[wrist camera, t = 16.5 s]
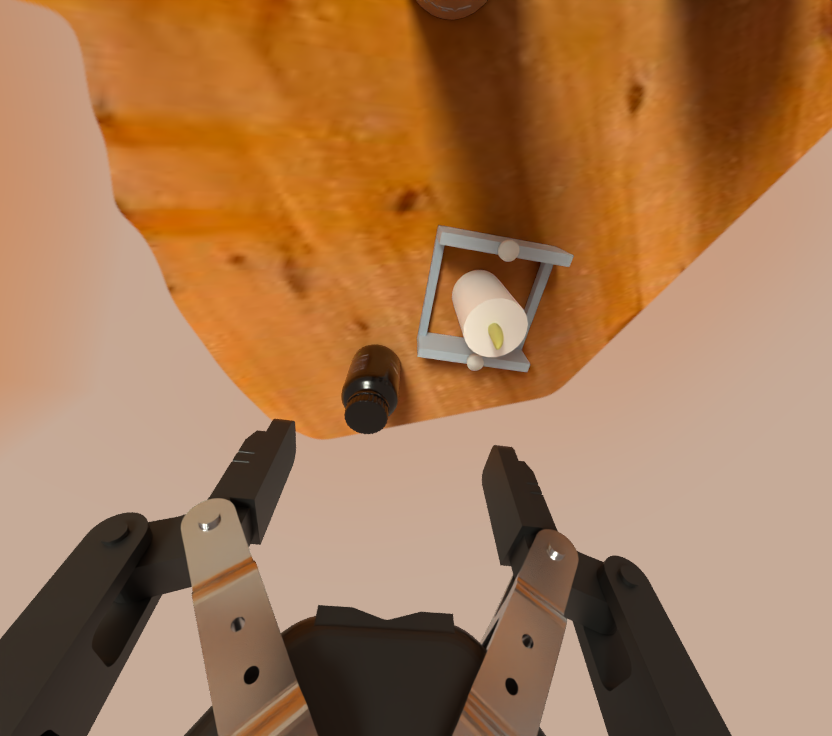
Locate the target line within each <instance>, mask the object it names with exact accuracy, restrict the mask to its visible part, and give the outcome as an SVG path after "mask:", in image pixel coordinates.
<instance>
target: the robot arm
mask: <svg viewBox="0 0 832 736" xmlns="http://www.w3.org/2000/svg"><path fill="white" fill-rule="evenodd" d="M416 1H417V2H418V4H419V5H420V6H421V7H422V8H423V9H425V10H426V11H427V12H429V13H430V14H431V15H434V16H436V17H439V18H441V19H450V20H455V19H460V18H464V17H466V16H468V15H470V14H472V13H474V12H476V11H477V10H478V9H479V8H480V7H481V6H483V5H484V4H485V3H486V2H487V0H416ZM295 436H296V433H295V422H294V421H290V420H282V419H273V421H272V422H271V424H270V426H269V428H268V429H267V431H266V432H265V431H256V432H255V433H253V434H252V435H251V436H249V437H248V438H247V439H245V441H244V443H243V444H242V446H241V448H240V449H239V452H238V453H237V454H236V456H235V457H234V459H233V462H231V464H230V465H229V467H228V468H227V470H226V472H225V473H224V475H223V476H222V478H221V480H220V481H219V483H218V484H217V486H216V488H215V489H214V491H213V493H212V494H211V496H210V497H209V498H208V500H206V501H203V502H201V503H199V504H198V505H196V506H194V507H193V508H192V509H191V510H190V511H189V512H188V513H187V514H185V515H182V516H179V517H175V518H169V519H163V520H158V521H153V522H148V521H147V519H146V518H145V517H144V516H143V515H141V514H139V513H133V512H132V513H122V514H118V515H116V516H113V517H110V518H108V519H106V520H104V521H102V522H101V523H99V524H98V525H96V526H95V527H94V528H93V529H92V530H90V532H89V533H88V534H87V535H86V536H85V537H84V538H83V540H82V541H81V542H80V543H79V545H78V546H77V547H76V548H75V549H74V551H73V552H72V553H71V554H70V555H69V557H68V558H67V559H66V560H65V561H64V563H63V564H62V565H61V566H60V567H59V569H58V570H57V571H56V572H55V573H54V575H53V576H52V577H51V579H50V580H49V581H48V582H47V583H46V584H45V586H44V587H43V588H42V589H41V591H40V592H39V593H38V594H37V595H36V597H35V598H34V599H33V600H32V601H31V603H30V604H29V605H28V606H27V607H26V609H25V610H24V611H23V612H22V613H21V615H20V616H19V617H18V618H17V620H16V621H15V622H14V623H13V624H12V626H11V627H10V628H9V629H8V630H7V632H6V633H5V634H4V635H3V636H2V638H1V639H0V736H87V735H88V733H89V731H90V729H91V727H92V725H93V724H94V722H95V720H96V718H97V716H98V714H99V712H100V710H101V709H102V706H103V705H104V703H105V701H106V699H107V697H108V695H109V693H110V692H111V690H112V688H113V686H114V684H115V682H116V680H117V678H118V677H119V675H120V673H121V671H122V669H123V667H124V665H125V663H126V662H127V660H128V658H129V656H130V654H131V652H132V650H133V648H134V646H135V645H136V643H137V641H138V639H139V637H140V635H141V633H142V631H143V629H144V627H145V626H146V624H147V622H148V620H149V618H150V616H151V615H152V612H153V611H154V609H155V607H156V605H157V603H158V601H159V599H160V598H161V596H162V594H165V593H169V592H173V591H177V590H181V589H184V588H189V587H192V591H193V592H192V599H193V606H194V611H195V616H196V621H197V626H198V632H199V637H200V642H201V648H202V653H203V658H204V664H205V669H206V674H207V679H208V685H209V690H210V695H211V701H212V706H211V707H210V708H209V709H208V711H206V713H205V714H204V715H203V716H202V717H201V718H200V719H199V720H198V721H197V722H196V723H195V724H194V725H193V726H192V728H191V729H190V730H189V731H188V732H187V733H186V734H185V735H184V736H546V735H545V734H544V732H543V731H542V729H541V728H540V727H539V726H540V722H541V718H542V715H543V711H544V707H545V704H546V700H547V696H548V693H549V689H550V685H551V681H552V677H553V674H554V670H555V666H556V662H557V659H558V655H559V651H560V647H561V644H562V640H563V636H564V633H565V629H566V624H567V619H570V620H572V621H573V624H574V627H575V630H576V633H577V636H578V639H579V643H580V646H581V649H582V652H583V655H584V659H585V662H586V665H587V668H588V672H589V675H590V678H591V681H592V684H593V687H594V690H595V694H596V697H597V700H598V703H599V707H600V710H601V713H602V716H603V719H604V722H605V726H606V729H607V732H608V735H609V736H731V734H730V732H729V730H728V728H727V727H726V724H725V722H724V721H723V719H722V717H721V716H720V713H719V711H718V709H717V708H716V706H715V704H714V702H713V700H712V698H711V696H710V695H709V693H708V691H707V689H706V687H705V685H704V683H703V681H702V680H701V678H700V676H699V674H698V672H697V670H696V668H695V666H694V664H693V663H692V661H691V659H690V657H689V655H688V654H687V652H686V650H685V648H684V646H683V644H682V642H681V640H680V638H679V636H678V635H677V633H676V631H675V629H674V627H673V625H672V623H671V621H670V620H669V618H668V616H667V614H666V612H665V610H664V609H663V607H662V605H661V603H660V601H659V599H658V597H657V595H656V593H655V592H654V590H653V588H652V586H651V584H650V582H649V580H648V579H647V577H646V576H645V574H644V573H643V572H642V571H641V570H640V569H639V568H638V567H637V566H636V565H635V564H634V563H632V562H631V561H629V560H627V559H625V558H623V557H620V556H610V557H608V558H607V559H606V560H605V561H604V562H602V561H599V560H597V559H594V558H592V557H589V556H587V555H584V554H582V553H580V552H578V551H576V549H575V547H574V545H573V544H572V543H571V541H570V540H569V539H568V538H567V537H565V536H564V535H563V534H561V533H559V532H558V531H557V529H556V526H555V524H554V521H553V519H552V516H551V514H550V512H549V509H548V507H547V504H546V502H545V499H544V497H543V495H542V492H541V490H540V487H539V486H538V482H537V480H536V478H535V475H534V473H533V471H532V470H531V469H530V468H529V467H528V465H527V464H526V463H525V462H524V461H518V458H517V456H516V453H515V450H514V449H513V448H512V447H506V446H497V445H494V446H493V447H492V449H491V452H490V454H489V457H488V460H487V462H486V465H485V467H484V470H483V474H482V486H483V490H484V495H485V499H486V503H487V508H488V512H489V516H490V521H491V525H492V529H493V534H494V538H495V543H496V547H497V551H498V556H499V560H500V565H504V566H511V567H512V571H513V576H512V577H511V579H510V581H509V584H508V586H507V588H506V590H505V592H504V594H503V597H502V599H501V601H500V603H499V605H498V608H497V610H496V612H495V614H494V616H493V618H492V620H491V622H490V625H489V626H488V628H487V630H486V632H485V634H484V636H483V638H482V640H481V642H480V643H479V642H478V641H477V640H476V639H475V638H474V637H473V636H472V635H470V634H469V633H468V632H466V631H465V630H463V629H461V628H459V627H457V626H454V621H453V614H445V613H430V612H418V613H414V614H411V615H406V616H403V617H399V618H394V619H390V620H384V619H381V618H379V617H376V616H373V615H371V614H368V613H365V612H363V611H360V610H358V609H355V608H352V607H338V606H323V605H318V610H317V614H316V616H314V617H310V618H307V619H304V620H302V621H300V622H298V623H296V624H294V625H292V626H291V627H289V628H288V629H286V630H285V631H283V632H282V633H280V630H279V627H278V625H277V622H276V619H275V616H274V613H273V610H272V607H271V604H270V601H269V599H268V596H267V593H266V590H265V587H264V584H263V581H262V578H261V576H260V573H259V570H258V567H257V564H256V562H255V561H253V559H252V556H251V553H250V550H249V546H250V544H259V545H260V544H261V542H262V540H263V537H264V535H265V532H266V530H267V527H268V525H269V522H270V520H271V517H272V515H273V512H274V510H275V508H276V505H277V503H278V500H279V498H280V495H281V493H282V490H283V488H284V485H285V483H286V481H287V478H288V476H289V473H290V471H291V468H292V466H293V463H294V459H295V453H296V437H295Z"/></svg>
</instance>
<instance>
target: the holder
mask: <svg viewBox="0 0 832 736" xmlns="http://www.w3.org/2000/svg"><path fill="white" fill-rule="evenodd" d="M445 245H447V246H452V247H458V248H464V249H469V250H475V251H481V252H486V253H492V254H498V255H499V257H500V258H501V259H502V260H504V261H506V262H510V261H513V260H514V259H516V258H520V259H526V260H532V261H538V262H541V264H540V267H539V270H538V273H537V276H536V278H535V281H534V284H533V287H532V290H531V293H530V295H529V298H528V301H527V304H526V307H525V309H524V312H525V314H526V316H527V321H528V327H527V332H526V335H525V337H524V339H523V341H522V342H521V343H520V344H519V346H518V347H516V348H515V349H514V350H513V351H511V352H509V353H507V354H505V355H502V356H498V357H485V356H481V355H479V354H477V353H475V352H473V351H472V350H471V349H470V348H469V347H468V345H467V343H466V342H465V339H464V338H463V337H456V336H449V335H443V334H436V333H429V332H427V330H428V325H429V320H430V315H431V310H432V305H433V300H434V295H435V290H436V285H437V280H438V275H439V270H440V265H441V260H442V255H443V250H444V246H445ZM573 256H574V255H572V254H570V253H568V252H566V251H564V250H562V249H560V248H558V247H556V246H551V245H546V244H540V243H535V242H529V241H524V240H518V239H513V238H507V237H502V236H496V235H491V234H485V233H480V232H474V231H469V230H463V229H458V228H452V227H447V226H441V225H438V229H437V235H436V240H435V245H434V251H433V256H432V262H431V267H430V272H429V278H428V283H427V288H426V294H425V299H424V304H423V310H422V315H421V320H420V326H419V331H418V336H417V353H418V357H423V358H430V359H437V360H444V361H451V362H458V363H465V364H467V366H468V368H469V369H470V370H472V371H477V370H480V369H481V368H482V367H483V366H486V367H493V368H501V369H508V370H515V371H522V372H527V371H528V369H529V366H530V363H529V361H528V360H527V358H526V356H525V355H524V353H523V352H522V347H523V345H524V342H525V339H526V337H527V334H528V331H529V329H530V326H531V323H532V321H533V318H534V315H535V313H536V310H537V307H538V305H539V302H540V299H541V296H542V294H543V291H544V288H545V286H546V283H547V280H548V278H549V275H550V272H551V270H552V267H553V264H555V265H560V266H566V267H569V266H570V264H571V261H572V259H573Z"/></svg>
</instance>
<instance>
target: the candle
mask: <svg viewBox="0 0 832 736" xmlns="http://www.w3.org/2000/svg"><path fill="white" fill-rule="evenodd" d="M452 301H453V305H454V308H455V311H456V314H457V317H458V321H459V324H460V327H461V330H462V333H463V336H464V339H465V342H466V343H467V345H468V347H469V348H470V349H471V350H472V351H473V352H475V353H477V354H479V355H481V356H485V357H498V356H502V355H505V354H507V353H509V352H511V351H513V350H514V349H515V348H516V347H518V346H519V344H520V343H521V342H522V341H523V339H524V337H525V335H526V332H527V327H528V321H527V316H526V314H525V312H524V310H523V308H522V307H521V306H520V305H519V304H518V302H517V301H516V300H515V299H514V298H513V296H512V295H511V294H510V293H509V292H508V290H507V289H506V288H505V287H504V285H503V284H502V283H501V282H500V281H499V279H498V278H497V277H496V276H495V275H494V274H492V273H490V272H489V271H485V270H473V271H470V272H468V273H466V274H464V275H463V276H462V277H461V278H460V279H459V280H458V281H457V282H456V284H455V286H454V288H453V291H452Z"/></svg>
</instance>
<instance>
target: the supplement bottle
mask: <svg viewBox="0 0 832 736" xmlns="http://www.w3.org/2000/svg"><path fill="white" fill-rule="evenodd" d="M399 382H400V362H399V359H398V357H397V356H396V354H395V353H394V352H393V351H392V350H390V349H389V348H387V347H385V346H382V345H368V346H365V347H363V348H361V349H360V350H359V351H358V352H357V353H356V354H355V356H354V357H353V360H352V363H351V365H350V368H349V371H348V374H347V377H346V380H345V383H344V386H343V389H342V395H341V398H342V403H343V405H344V407H345V414H344V416H345V420H346V423H347V425H348V426H349V427H350V428H351V429H353V430H354V431H356V432H359V433H363V434H373V433H376V432H378V431H380V430H381V429H383V427H385V425H386V423H387V420H388V416H390V415H391V414H392V413H393V412H394V410H395V409H396V407H397V404H398V397H399Z"/></svg>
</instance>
